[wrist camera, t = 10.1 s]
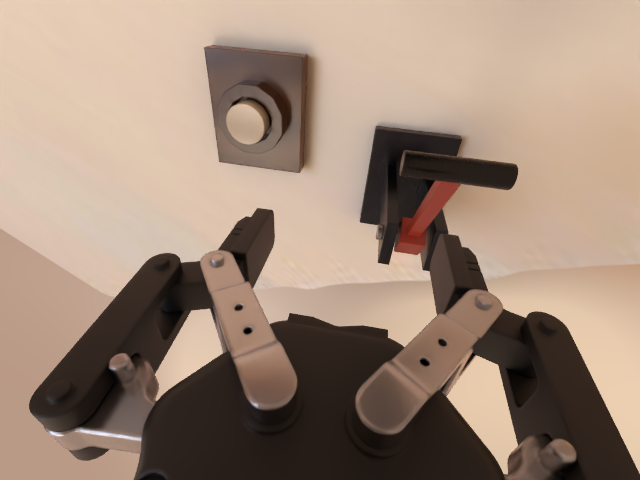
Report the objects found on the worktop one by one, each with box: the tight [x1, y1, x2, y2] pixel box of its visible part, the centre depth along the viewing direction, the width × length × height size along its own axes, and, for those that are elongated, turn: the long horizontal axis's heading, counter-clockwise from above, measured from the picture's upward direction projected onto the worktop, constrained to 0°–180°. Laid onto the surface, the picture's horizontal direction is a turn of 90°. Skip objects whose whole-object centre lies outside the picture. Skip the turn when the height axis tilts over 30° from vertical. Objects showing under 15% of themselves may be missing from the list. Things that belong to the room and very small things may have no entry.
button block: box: [204, 45, 307, 173], centre depth 34 cm, size 12×10×4 cm
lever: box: [394, 150, 518, 255], centre depth 24 cm, size 14×6×2 cm
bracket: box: [360, 126, 462, 271], centre depth 33 cm, size 12×9×13 cm
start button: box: [226, 100, 270, 145], centre depth 32 cm, size 4×4×2 cm
